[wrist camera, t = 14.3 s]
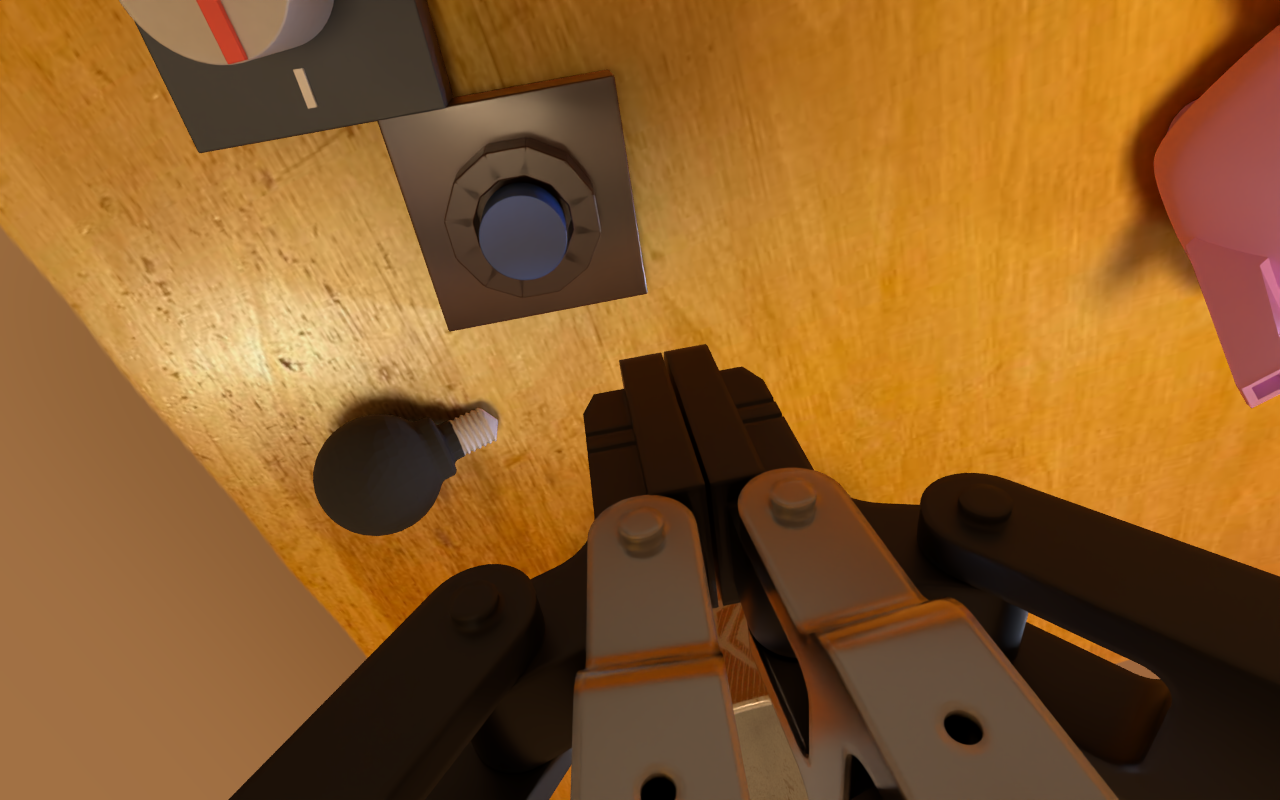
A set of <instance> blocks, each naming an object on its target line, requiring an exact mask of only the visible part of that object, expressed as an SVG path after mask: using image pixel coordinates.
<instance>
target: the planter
mask: <svg viewBox="0 0 1280 800" xmlns="http://www.w3.org/2000/svg"><path fill="white" fill-rule="evenodd" d="M716 587H717V583H716ZM717 596H718V605H719V607H717V608H713V616H714V621H715V626H716V632H717V637H718V643H719V648H720V651H722V654H723V658H724V662H725V667H726V672H727V677H728V683H729V688H730V693H731V699H732V704H733V710H734V715H735V720H736V726H737V731H738V736H739V742H740V747H741V752H742V758H743V763H744V769H745V774H746V779H747V785H748V790H749V795H750V800H808V797H807V793H806V789H805V786H804V783H803V780H802V777H801V774H800V771H799V768H798V766H797V763H796V761H795V759H794V756H793V754H792V751H791V749H790V747H789V744H788V742H787V739H786V737H785V734H784V732H783V730H782V727H781V725H780V722H779V720H778V717H777V715H776V713H775V710H774V708H773V705H772V703H771V700H770V698H769V696H768V693H767V691H766V688H765V686H764V684H763V681H762V679H761V676H760V674H759V671H758V669H757V667H756V664H755V662H754V659H753V657H752V654H751V651H750V648H749V639H748V626H747V620H746V617H745V614H744V611H743V608H742V605H741V603H736V604H731V605H726V606H723V603H722V600H721V597H720V593H719V590H718V587H717Z"/></svg>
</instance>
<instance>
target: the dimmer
mask: <svg viewBox="0 0 1280 800" xmlns="http://www.w3.org/2000/svg"><path fill="white" fill-rule="evenodd" d="M119 1H120V3H121V4H122V6H123V7H124V8H125V10H126V11H127V12H128V14H129V15H130V16H131V17H132V18H133V19H134V20H135V22H136V23H137V24H138V25H139V26H140V27H141V28H142V29H143V30H145V31H146V32H147V33H148V34H149V35H150V36H151V37H153V38H154V39H155V40H157V41H158V42H159V43H161V44H162V45H164V46H165V47H167V48H168V49H170V50H172V51H173V52H176V53H178V54H180V55H182V56H184V57H186V58H189V59H192V60H195V61H198V62H202V63H206V64H213V65H234V64H239V63H244V62H247V61H251V60H254V59H257V58H261V57H264V56H267V55H271V54H274V53H278V52H281V51H284V50H288V49H291V48H294V47H297V46H300V45H303V44H305V43H307V42H308V41H310V40H311V39H313V38H314V37H315V36H316V35H317V34H318V33H319V32H320V31H321V30H322V29H323V27H324V26H325V24H326V23H327V21H328V19H329V16H330V14H331V11H332V7H333V3H334V0H119Z"/></svg>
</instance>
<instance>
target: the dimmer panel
mask: <svg viewBox="0 0 1280 800" xmlns="http://www.w3.org/2000/svg"><path fill="white" fill-rule="evenodd" d="M134 21H135V20H134ZM135 23H136V22H135ZM136 25H137V27H138V29H139V31H140V33H141V36H142V38H143V40H144V42H145V44H146V46H147V48H148V50H149V52H150V54H151V56H152V58H153V60H154V62H155V64H156V66H157V68H158V70H159V72H160V75H161V77H162V79H163V81H164V83H165V85H166V87H167V89H168V91H169V93H170V95H171V97H172V99H173V101H174V103H175V105H176V107H177V109H178V111H179V114H180V116H181V118H182V120H183V122H184V124H185V126H186V128H187V130H188V132H189V134H190V136H191V138H192V140H193V142H194V144H195V146H196V148H197V150H198V152H199V153H204V152H210V151H215V150H220V149H226V148H231V147H237V146H242V145H248V144H253V143H259V142H264V141H270V140H275V139H281V138H286V137H292V136H297V135H303V134H308V133H314V132H319V131H325V130H330V129H335V128H341V127H346V126H352V125H357V124H363V123H368V122H374V121H379V120H385V119H390V118H396V117H401V116H407V115H412V114H418V113H423V112H429V111H434V110H440V109H445V108H446V106H447V105H448V103H449V102H450V101H451V99H452V98H453V94H452V91H451V87H450V83H449V80H448V76H447V73H446V69H445V65H444V62H443V58H442V55H441V51H440V47H439V44H438V40H437V36H436V33H435V29H434V26H433V22H432V18H431V15H430V11H429V8H428V4H427V0H334V3H333V7H332V11H331V14H330V16H329V19H328V21H327V23H326V24H325V26H324V27H323V29H322V30H321V31H320V32H319V33H318V34H317V35H316V36H315V37H314V38H313V39H311V40H310V41H308V42H307V43H305V44H303V45H300V46H297V47H294V48H291V49H288V50H284V51H281V52H278V53H274V54H271V55H267V56H264V57H261V58H257V59H254V60H251V61H247V62H244V63H239V64H234V65H213V64H206V63H202V62H198V61H195V60H192V59H189V58H186V57H184V56H182V55H180V54H178V53H176V52H173V51H172V50H170V49H168V48H167V47H165V46H164V45H162V44H161V43H159V42H158V41H157V40H155V39H154V38H153V37H151V36H150V35H149V34H148V33H147V32H146V31H145V30H143V29H142V28H141V27H140V26H139V25H138V24H137V23H136Z"/></svg>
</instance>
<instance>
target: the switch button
mask: <svg viewBox="0 0 1280 800" xmlns="http://www.w3.org/2000/svg"><path fill="white" fill-rule="evenodd" d="M479 244H480V248H481V250H482V253H483V255H484V257H485V258H486V260H487V261H488V263H489V264H490V265H491V266H492V267H493V268H494V269H495V270H497V271H498V272H500V273H501V274H503V275H505V276H507V277H510V278H513V279H518V280H532V279H537V278H540V277H543V276H545V275H547V274H548V273H550V272H551V271H553V270H554V269H555V268H556V267H557V266H558V264H559V263H560V262H561V260H562V258H563V256H564V254H565V251H566V248H567V230H566V222H565V216H564V212H563V210H562V207H561V205H560V204H559V202H558V201H557V199H556V198H555V197H554V196H553V195H552V194H551V193H550V192H548V191H547V190H546V189H544V188H542V187H540V186H538V185H535V184H531V183H525V182H519V183H512V184H508V185H506V186H504V187H502V188H500V189H498V190H497V191H496V192H495V193H494V194H493V195H492V196H491V197H490V198H489V200H488V201H487V203H486V205H485V207H484V210H483V214H482V218H481V223H480V228H479Z"/></svg>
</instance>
